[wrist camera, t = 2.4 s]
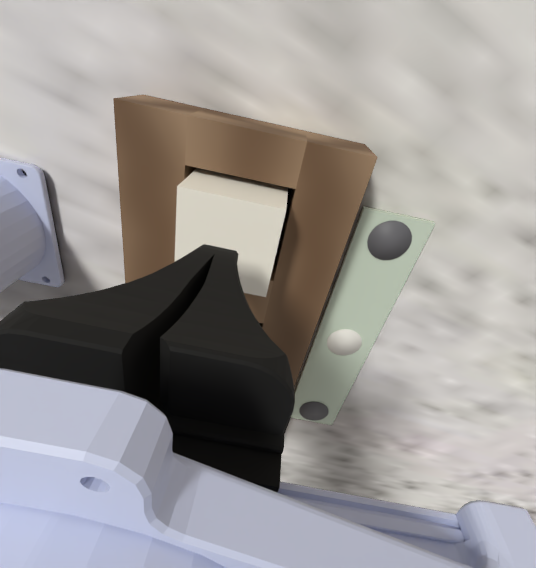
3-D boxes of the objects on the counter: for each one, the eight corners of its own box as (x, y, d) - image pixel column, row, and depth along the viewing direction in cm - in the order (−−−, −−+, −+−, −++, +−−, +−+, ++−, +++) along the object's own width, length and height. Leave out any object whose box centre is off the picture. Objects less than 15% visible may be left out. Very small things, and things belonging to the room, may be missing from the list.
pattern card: (286, 413, 28) (286, 417, 28) (363, 206, 18) (364, 208, 17) (331, 422, 28) (331, 426, 28) (433, 221, 18) (436, 224, 17)
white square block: (193, 247, 18) (173, 278, 15) (198, 166, 15) (176, 186, 13) (270, 263, 18) (265, 297, 15) (288, 185, 16) (286, 209, 13)
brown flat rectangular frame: (149, 409, 29) (135, 440, 27) (143, 94, 15) (113, 98, 13) (268, 431, 30) (266, 464, 27) (365, 144, 16) (377, 157, 13)
